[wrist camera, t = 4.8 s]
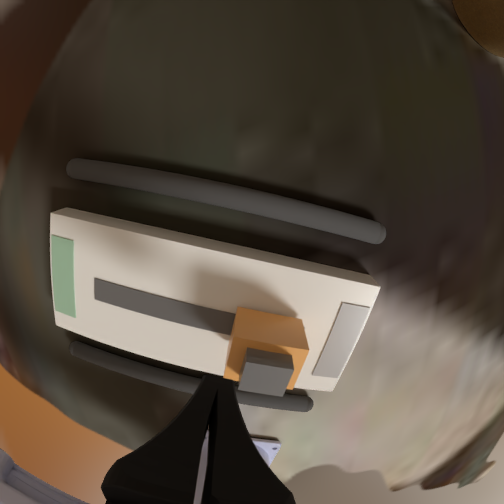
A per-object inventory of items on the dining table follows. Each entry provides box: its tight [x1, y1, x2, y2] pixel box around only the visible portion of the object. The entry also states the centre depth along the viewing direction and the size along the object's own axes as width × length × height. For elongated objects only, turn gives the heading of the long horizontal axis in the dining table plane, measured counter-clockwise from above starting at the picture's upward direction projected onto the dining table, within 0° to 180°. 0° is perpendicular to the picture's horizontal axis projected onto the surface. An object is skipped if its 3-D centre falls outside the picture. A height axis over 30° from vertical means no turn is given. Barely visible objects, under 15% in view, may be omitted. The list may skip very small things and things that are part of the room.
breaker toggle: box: [223, 306, 309, 397], centre depth 16 cm, size 3×4×4 cm
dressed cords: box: [66, 158, 386, 412], centre depth 19 cm, size 16×21×1 cm
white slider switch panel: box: [50, 207, 381, 392], centre depth 19 cm, size 9×22×2 cm, turn 77°
